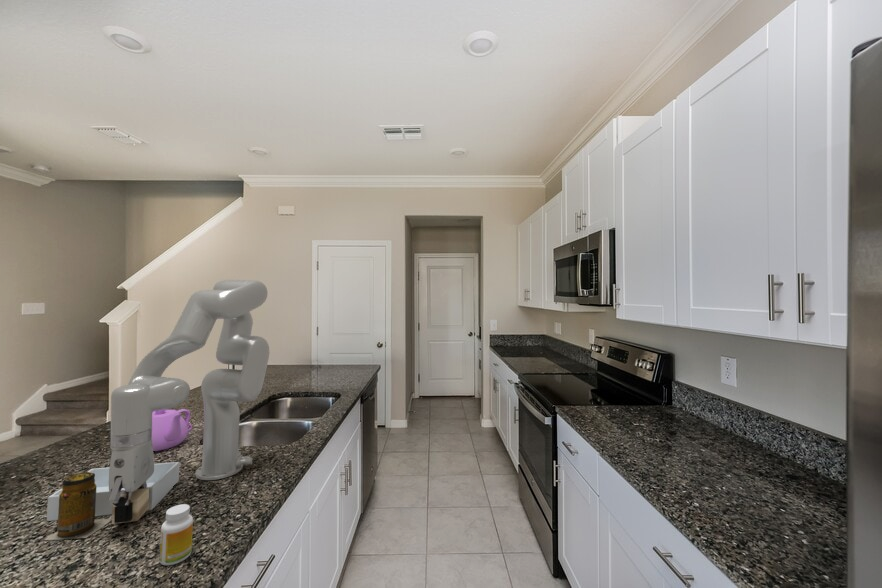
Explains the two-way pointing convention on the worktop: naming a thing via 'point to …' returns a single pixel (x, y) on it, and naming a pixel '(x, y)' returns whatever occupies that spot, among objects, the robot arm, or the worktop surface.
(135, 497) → the cube
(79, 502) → the condiment
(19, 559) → the worktop surface
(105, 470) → the tote
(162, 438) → the teapot
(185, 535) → the supplement bottle
